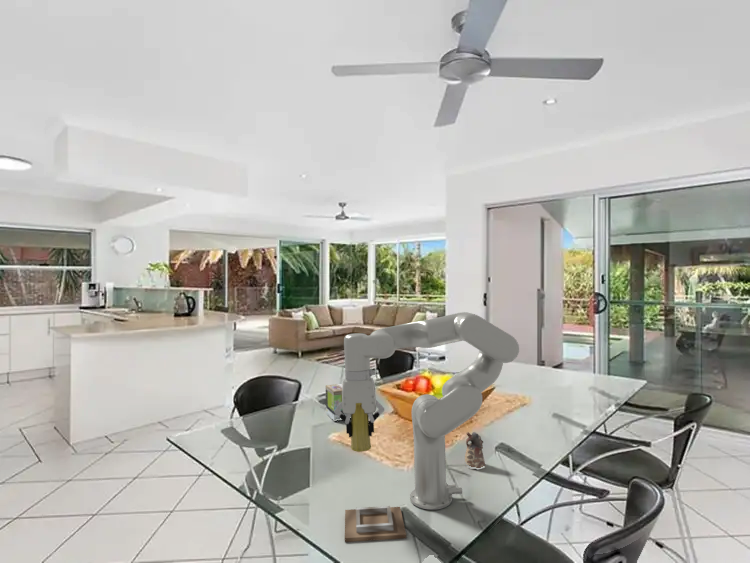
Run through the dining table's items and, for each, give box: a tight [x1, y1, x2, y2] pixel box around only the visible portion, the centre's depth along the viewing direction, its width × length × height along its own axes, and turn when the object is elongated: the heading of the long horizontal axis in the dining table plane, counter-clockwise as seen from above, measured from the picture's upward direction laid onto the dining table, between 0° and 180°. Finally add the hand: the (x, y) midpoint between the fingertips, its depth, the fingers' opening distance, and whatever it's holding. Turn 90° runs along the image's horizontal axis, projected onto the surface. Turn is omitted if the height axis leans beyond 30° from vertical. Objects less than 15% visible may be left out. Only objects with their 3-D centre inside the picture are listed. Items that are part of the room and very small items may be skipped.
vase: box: [350, 403, 372, 453], centre depth 132 cm, size 6×6×14 cm
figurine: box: [464, 431, 486, 468], centre depth 157 cm, size 7×7×12 cm
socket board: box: [344, 505, 407, 543], centre depth 121 cm, size 16×14×2 cm
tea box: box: [325, 383, 347, 421], centre depth 218 cm, size 15×10×15 cm
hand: (360, 434), depth 132 cm, fingers closed on vase, 5 cm apart
